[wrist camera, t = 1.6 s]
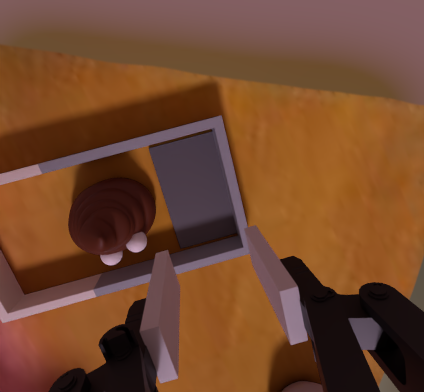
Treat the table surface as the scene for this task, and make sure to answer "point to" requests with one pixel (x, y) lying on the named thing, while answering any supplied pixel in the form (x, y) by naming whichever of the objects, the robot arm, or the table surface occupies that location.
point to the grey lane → (183, 197)
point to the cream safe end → (44, 299)
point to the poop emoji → (112, 218)
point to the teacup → (303, 387)
